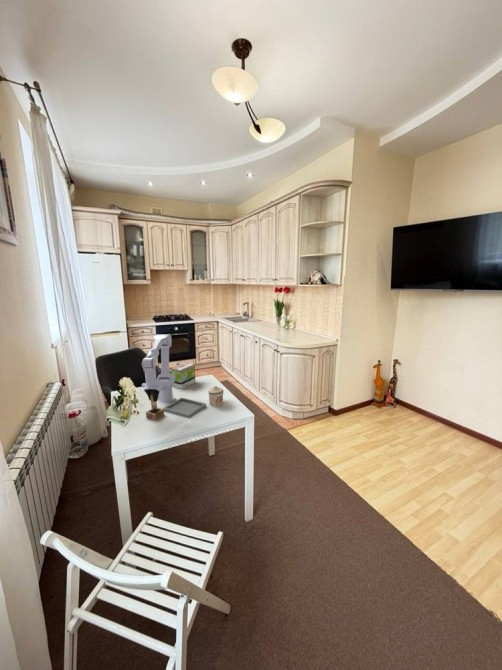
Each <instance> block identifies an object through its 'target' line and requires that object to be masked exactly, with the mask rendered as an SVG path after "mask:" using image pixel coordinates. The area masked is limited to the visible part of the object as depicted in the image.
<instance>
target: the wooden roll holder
mask: <svg viewBox="0 0 502 670" xmlns="http://www.w3.org/2000/svg"><path fill="white" fill-rule="evenodd" d="M145 416H146V419H149V420H152V421H156V420H158V419H160V418H162V417H163V416H165V411H164V409H163V408H161V407H157V408H156V409H152V408H150V409H149V410H147V411H145Z"/></svg>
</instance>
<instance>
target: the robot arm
mask: <svg viewBox="0 0 502 670" xmlns="http://www.w3.org/2000/svg"><path fill="white" fill-rule="evenodd" d="M152 338H153V341H152V342H153V345H152V348H150V349H149V350H148V353H147V354H146V356H145V357H144V358H143V359H142V361H141V367H142V369H143V372H144V377H145V382H143V383H142V384H141V388H144V390H143V391H144V393H145V394H146V395H147V398H148V400H149V401H150V402H151V398H150V395H151V394H152V396H153V400H154V402H156V401H157V402H160V403H161V402H162V403H163V404H164V403H165V404H168V403H169V404H170V403H171V402H174V401H176V400H177V398H176V397H174V396H173V395H174V394H173V393H174V392H173V388H174V387H173V386H174V376H173V375H172V372H171V373H170V348H171V347H172V340H173V339H172V335H171V334H170V333H168V334H156V333H155V334H154V335H153V337H152ZM159 350H160V351H159ZM159 355H160V358H161V359H160V363H161V364H160V366H161V367H160V368H161V369H160V372H161V373H160V374H158V376H157V372H156V371H157V370H156V367H157V364H158V363H157V362H158V357H159Z"/></svg>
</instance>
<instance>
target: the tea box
mask: <svg viewBox="0 0 502 670" xmlns="http://www.w3.org/2000/svg"><path fill="white" fill-rule="evenodd" d="M195 366H196V365H195V364H193V363H188V362H185V363H182V364H179V365H176V366H174V367H172V368H171V369H170V370H171V374H172V375H173V376H174V386H173V387H172V388H176V389H180V390H183V389H185V388H187V387H188V386H191V385H192V384H195V383H196V382H197V381H196V367H195Z"/></svg>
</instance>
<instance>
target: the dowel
mask: <svg viewBox="0 0 502 670" xmlns="http://www.w3.org/2000/svg"><path fill="white" fill-rule="evenodd" d="M150 398H151V401H150V406H151V409H156V408H158V401H156V402H154V400H153V396H152V394H151V395H150Z"/></svg>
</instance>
